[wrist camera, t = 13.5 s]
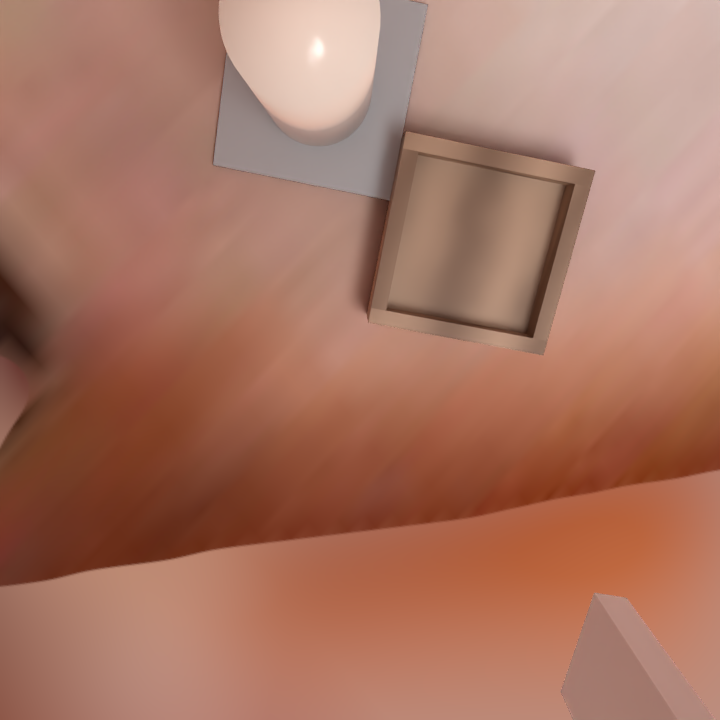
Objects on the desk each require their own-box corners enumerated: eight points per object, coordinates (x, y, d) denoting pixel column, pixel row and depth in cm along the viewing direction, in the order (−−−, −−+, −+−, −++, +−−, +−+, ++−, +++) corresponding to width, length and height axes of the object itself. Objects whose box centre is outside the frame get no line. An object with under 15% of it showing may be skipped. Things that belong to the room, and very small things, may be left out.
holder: (573, 175, 37) (595, 170, 34) (527, 344, 40) (543, 355, 37) (401, 139, 37) (406, 131, 33) (366, 314, 40) (368, 322, 36)
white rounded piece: (391, 0, 34) (410, -121, 23) (359, 157, 36) (361, 121, 25) (281, -27, 34) (242, -165, 22) (255, 133, 36) (207, 84, 24)
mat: (427, 7, 35) (427, 4, 34) (389, 200, 38) (389, 200, 37) (238, -36, 34) (237, -39, 34) (214, 165, 37) (212, 164, 37)
